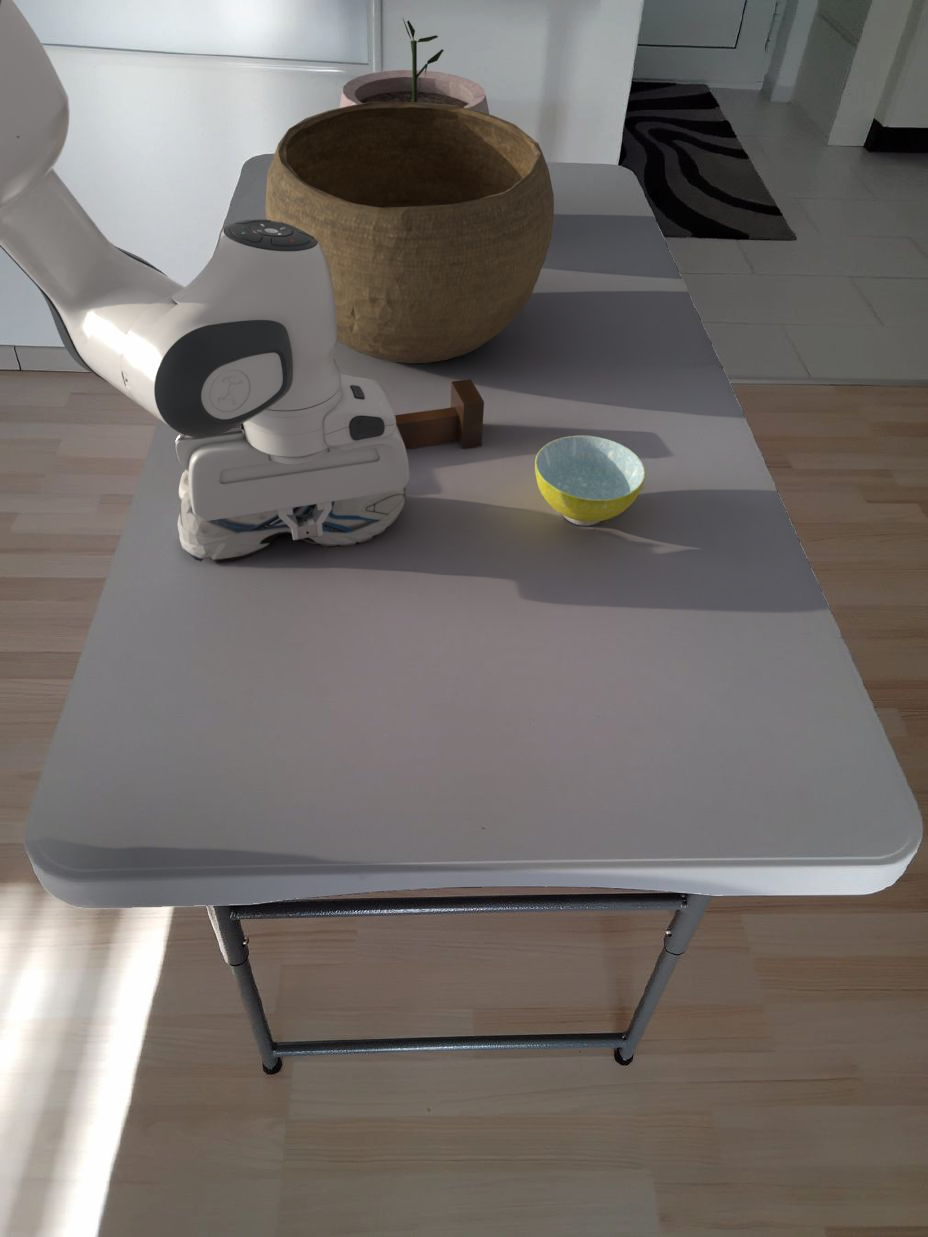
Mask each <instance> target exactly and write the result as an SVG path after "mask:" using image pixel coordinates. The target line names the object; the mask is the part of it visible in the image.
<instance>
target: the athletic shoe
mask: <svg viewBox="0 0 928 1237" xmlns="http://www.w3.org/2000/svg"><path fill="white" fill-rule="evenodd" d="M178 487H179V488H178V506H179V508H178V509H179V515H178V518H177V523H176V524H177V530H178V534H179V535H178V538H179V541H180V545H181V548H182V549H183V550H184V551H185V552H186V553H187V554H188V555H190V556H191V557H192V558H193V559H194V560H195V561H199V562H202V561H204V560H205V559H206V558H211V559H212V561H214V562H215V563H223V562H225V563H226V562H227V563H229V562H231V561H232V560H239V559H240V560H241V559H244V558H247V557H249V556H251V555H253V554H254V553H257V552H260V551H262V550H264V549H265V548H267V547H268V546H269V545H270V544H271V543H272V541H273V540H275V539H276V538H278V537H279V536H280V535H284V534H285V535H286V534H287V535H292V533H291V528H290V527H289V526H288V525H287V524H286V523H285V522H284V521H283V520H281V519H280V518H279V516H278V512H277V510H274V511H268V512H262V513H255V514H249V515H243V516H236V517H230V518H223V519H217V520H211V521H203V520H202V519H200V518H199V517H197V516H196V515H194V514H193V511H192V505H191V499H190V493H189V484H188V475H187V470H185V469H184V471H183V473H182V474H181V477H180V481H179V486H178ZM331 503H332V509H331V511H330V513H329V514H328V516H327V517H326V519H325V521H324V522H323V523H322V530H323V536H316V537H309V538H304V539H301V540H302V541H304V542H306V543H308V544H312V545H313V544H315V545H319V544H320V546H322V547H336V546H338V545H339V546H341V547H351V546H356V544H357V543H360V544H362V543H366V542H369V541H371V540H373V538H374V536H380V535H381V534H382V533H383V532H385V531H386V530H387V528H388V527H390V526H392V525H394V523H395V522H396V521H397V520H398V519H399V517H400V516H401V515H402V514H403V510H404V508H405V506H406V503H407V490H406V486H405V487H404V488H403V489H402V490H401V491H397V492H390V493H384V494H377V495H371V496H365V497H358V498H352V499H345V500H339V501H332V502H331ZM315 506H316V504H313V505H307V506H300V507H294V508H293V513H294V514H295V516H297V515H304V514H310V513H312V511H313V510H314V508H315Z"/></svg>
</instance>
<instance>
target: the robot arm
mask: <svg viewBox="0 0 928 1237" xmlns="http://www.w3.org/2000/svg"><path fill="white" fill-rule="evenodd" d="M50 58H51V57H49V55H48V53H47V51H46V49H45V48H44V46H43V44H42V42H41V40H40V39H39V37H38V36H37V33H36V32H35V30H34V29H33V27H32V26H31V25H30V23H29V22H28V19H26V17H25V15H24V14H23V12H22V11H21V10H20V8H19V7H18V5H17V4H16V3H15V1H14V0H0V248H1V249H2V250H3V251H4V253H6V255H7V256H8V257H9V258H10V259H11V260H12V261H13V262H14V264H16V266H17V267H18V268H20V270H21V271H22V272H23V273H24V274H25V275H26V276H27V277H28V278H29V280H30V281H32V283H33V284H34V285H35V286H36V287H37V289H38V290H39V291H40V294H41V295H42V296H43V298H44V300H45V302H46V303H47V306H48V308H49V311H50V315H51V316H52V320H53V322H54V325H55V327H56V330H57V333H58V335H59V337H60V340H61V342H62V344H63V346H64V348H65V349H66V351H67V352H68V354H69V355H70V356H71V358H72V359H73V360H74V361H75V362H76V363H77V364H78V365H79V366H80V367H82V368H83V369H84V370H86V371H88V372H89V373H91V374H93V375H95V376H96V377H98V378H99V379H102V380H103V381H104V382H107V383H109V384H110V385H111V386H113V387H114V388H116V389H117V390H118V391H120V392H121V393H122V394H124V395H125V396H126V397H128V398H129V399H130V400H132V401H133V402H134V403H136V405H138V406H140V407H141V408H143V409H145V410H146V411H147V412H148V413H149V414H151V415H152V416H154V417H155V418H156V419H158V420H159V421H160V422H162V423H164V425H167V426H168V427H170V428H171V429H172V430H174V431H176V432H177V433H178V435H177V437H176V439H175V441H174V444H173V445H174V447H173V448H174V452H175V456H176V461H177V463H178V464H179V466H180V467H181V468H182V469H183V470H184V471H185V470H187V475H188V484H189V493H190V499H191V505H192V511H193V514H194V515H196V516H197V517H199V518H200V519H202V520H203V521H211V520H217V519H223V518H230V517H236V516H243V515H249V514H255V513H262V512H268V511H274V510H277V512H278V516H279V518H280V519H281V520H283V521H284V522H285V523H286V524H287V525H288V526H289V527H290V528H291V533H292V534H291V537H292V540H293V541H297V540H302V539H304V538H309V537H316V536H323V530H322V523H323V522H324V521H325V519H326V517H327V516H328V514H329V513H330V511H331V509H332V503H331V502H332V501H339V500H345V499H352V498H358V497H365V496H371V495H377V494H384V493H390V492H397V491H401V490H402V489H403V488H404V487H406V486H407V485H408V483H410V465H409V464H410V463H409V458H408V452H407V449H406V448H405V445H404V442H403V439H402V437H401V434H400V432H399V430H398V427H397V425H396V418H395V415H396V413H395V410H394V407H393V404H392V401H391V399H390V397H389V396H388V393H387V391H386V390H385V388H384V387H383V386H382V384H381V383H380V382H379V381H378V380H376V379H372V378H366V377H360V376H354V375H350V374H349V375H348V374H343V373H341V371H340V369H339V368H340V367H339V366H338V364H337V361H336V355H335V350H336V345H337V342H338V341H337V336H338V331H337V317H336V306H335V297H334V290H333V283H332V278H331V273H330V269H329V265H328V262H327V258H326V255H325V253H324V250H323V248H322V246H321V244H320V243H319V242H318V241H317V240H316V239H314V237H313V236H311V235H309V234H308V233H306V232H304V231H302V230H300V229H298V228H296V227H294V226H291V225H289V224H286V223H283V222H276V221H271V220H267V219H263V218H262V219H261V218H260V219H259V218H255V219H242V220H238V221H234V222H233V223H230V224H228V225H226V226H224V228H223V229H222V231H221V234H220V238H219V242H218V245H217V247H216V250H215V252H214V254H213V255H212V256H211V258H210V260H208V262H207V264H206V265H205V266H204V267H203V269H201V271H200V272H199V273H198V274H197V275H196V277H195V278H193V280H192V281H191V282H189V283H188V284H187V285H185V286H184V285H182V284H181V283H179V282H177V281H176V280H174V279H172V278H171V277H169V276H168V275H167V274H165V273H164V272H163V271H162V270H160V269H158V268H157V267H156V266H155V265H153V264H151V263H150V262H148V261H147V260H145V259H143V258H142V257H140V256H139V255H136V254H134V253H132V252H131V251H130V252H129V251H127V250H125V249H122V248H120V247H118V246H116V245H115V244H113V242H110V240H109V239H108V238H107V237H106V236H105V234H104V233H103V232H102V231H101V229H100V228H99V226H98V225H97V224H96V223H95V221H94V220H93V219H92V218H91V216H90V214H88V213H87V211H86V210H85V208H84V207H83V206H82V205H81V203H80V202H79V201H78V199H77V198H76V197H75V195H74V194H73V192H72V191H71V190H70V188H68V186H67V185H66V183H64V181H63V180H62V178H61V177H60V176H59V174H58V173H57V172H56V170H55V169H54V166H56V164H57V162H58V161H59V159H60V158H61V155H62V153H63V150H64V148H65V145H66V141H67V138H68V133H69V127H70V114H71V113H70V99H69V95H68V93H67V91H66V89H65V85H64V84H63V82H62V80H61V78H60V76H59V74H58V72H57V70H56V68H55V66H54V64H53V62H52V60H51V59H50ZM313 504H316V506H315V508H314V510H313V511H312V513H310V514H304V515H297V516H295V514H294V513H293V508H294V507H300V506H307V505H313Z"/></svg>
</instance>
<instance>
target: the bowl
mask: <svg viewBox="0 0 928 1237" xmlns="http://www.w3.org/2000/svg"><path fill="white" fill-rule="evenodd" d="M534 473H535V479H536V483H537V486H538V490H539V491H540V494H541V495H542V497H543V498H544V499H545V501H546V502H547V504H548V505H549V506H550V507H551V508H552V509H553V510H554V511H555V512H557V513H559V514H560V515H561V516H563V517H564V519H565V520H567V521H568V522H569V523H572V524H574V525H577V526H581V527H583V526H584V527H587V526H593V525H596V524H598V523H601V522H602V521H606V520H607V521H608V520H611V519H612V518H614V517H617V516H619V515H620V514H622V513H623V512H624V511H626V510H627V509H629V507H630V506H631V505H632V504H633V503H634V502H635V501H636V499H637V498H638V496H639V494H640V492H641V491H642V488H643V486H644V483H645V480H646V474H647V473H646V467H645V465H644V463H643V461H642V460H641V458H640V457H639V456H638V455H637V454H636V453H635V452H634V451H633V450H631V449H630V448H629V447H627V446H626V445H624V444H621V443H619V442H617V441H614V440H612V439H608V438H604V437H600V436H594V435H569V436H563V437H560V438H557V439H554V440H552V441H550V442H548V443H547V444H545V445H544V446H543V447H542V448H540V450H539V451H538V452H537V454H536V456H535V459H534Z"/></svg>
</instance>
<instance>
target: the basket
mask: <svg viewBox="0 0 928 1237" xmlns="http://www.w3.org/2000/svg"><path fill="white" fill-rule="evenodd" d="M552 184H553V183H552V180H551V173H550V168H549V167H548V163H547V161H546V159H545V156H544V153H543V151H542V149H541V147H540V143H539V142H537V140H535V139H533V137H531V135H529V134H527V133H526V132H525V131H524V130H523V129H521V128H520V127H519V126H517V125H516V124H515V123H512V122H511V121H507V120H505V119H502V118H500V117H499V116H495V115H494V114H493V115H492V114H490V113H489V114H486V113H482V112H479V111H475V110H471V109H468V108H464V107H460V106H455V105H447V104H434V103H417V102H380V101H375V102H368V103H362V104H356V105H351V106H346V107H342V108H339V107H338V108H334V109H329V110H325V111H323V112H320V113H317V114H314V115H311V116H308V117H305V118H304V119H303V120H301V121H299V122H297V123H296V124H294V125H293V126H291V127H289V128H288V129H287V131H286V132H285V134H284V135H283V136H282V138H281V139H280V141H279V142H278V143H277V146H276V148H275V151H274V154H273V157H272V160H271V162H270V164H269V166H268V170H267V177H266V187H265V188H266V189H265V218H266V220H271V221H276V222H283V223H286V224H289V225H291V226H294V227H296V228H298V229H300V230H302V231H304V232H306V233H308V234H309V235H311V236H313V237H314V239H316V240H317V241H318V242H319V243H320V244H321V246H322V248H323V250H324V253H325V255H326V258H327V262H328V265H329V269H330V273H331V278H332V283H333V290H334V297H335V306H336V317H337V331H338V336H337V342H338V343H340V344H341V345H343V346H346V347H347V348H349V349H351V350H353V351H355V352H357V353H359V354H363V355H366V356H369V357H371V358H375V359H378V360H382V361H387V362H392V363H393V362H395V363H406V364H429V363H434V362H440V361H447V360H450V359H453V358H456V357H457V358H458V357H461V356H464V355H467V354H469V353H471V352H473V351H475V350H477V349H479V348H480V347H481V346H483V345H484V344H486V343H487V342H489V341H490V340H491V339H493V338H494V337H497V335H499V334H500V333H501V332H503V331H504V330H505V329H506V328H507V326H509V325H510V323H511V322H512V321H513V320H514V319H515V317H516V316H517V315H518V314H519V313H520V312H521V310H522V309H523V307H525V305H526V304H527V303H528V301H529V300H530V299H531V296H532V294H533V291H534V289H535V286H536V284H537V282H538V279H539V276H540V273H541V271H542V269H543V267H544V264H545V263H546V262H545V261H546V259H547V254H548V252H549V251H548V250H549V247H550V243H551V240H552V235H553V229H554V219H555V218H554V217H555V196H554V195H555V194H554V190H553V185H552Z"/></svg>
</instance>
